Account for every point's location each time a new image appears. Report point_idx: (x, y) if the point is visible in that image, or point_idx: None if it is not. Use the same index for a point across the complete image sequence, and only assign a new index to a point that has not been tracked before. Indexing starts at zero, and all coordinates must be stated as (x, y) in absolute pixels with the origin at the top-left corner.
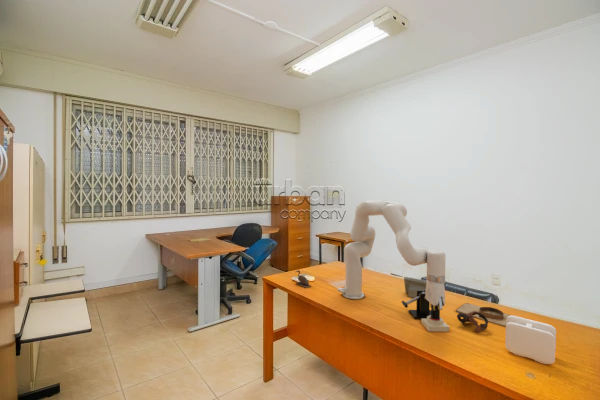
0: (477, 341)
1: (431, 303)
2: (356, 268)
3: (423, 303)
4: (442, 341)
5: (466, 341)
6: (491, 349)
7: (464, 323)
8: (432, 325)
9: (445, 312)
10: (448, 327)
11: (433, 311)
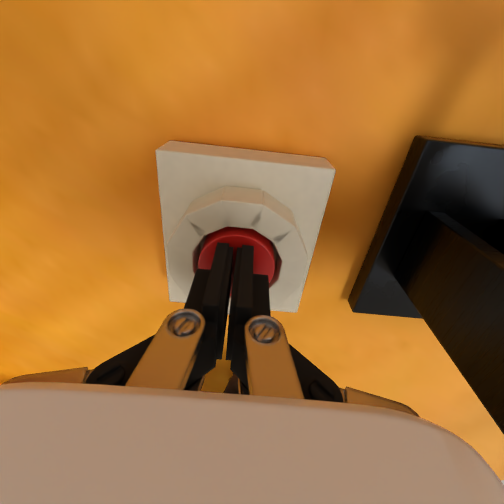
0: (88, 340)
1: (70, 400)
2: None
3: (495, 313)
4: (16, 163)
5: (72, 300)
6: (25, 349)
7: (228, 382)
8: (179, 197)
9: (410, 372)
10: (170, 293)
11: (203, 300)
